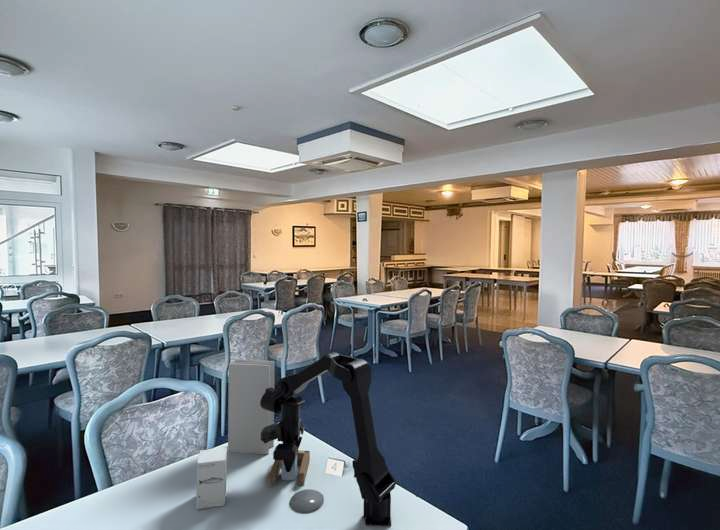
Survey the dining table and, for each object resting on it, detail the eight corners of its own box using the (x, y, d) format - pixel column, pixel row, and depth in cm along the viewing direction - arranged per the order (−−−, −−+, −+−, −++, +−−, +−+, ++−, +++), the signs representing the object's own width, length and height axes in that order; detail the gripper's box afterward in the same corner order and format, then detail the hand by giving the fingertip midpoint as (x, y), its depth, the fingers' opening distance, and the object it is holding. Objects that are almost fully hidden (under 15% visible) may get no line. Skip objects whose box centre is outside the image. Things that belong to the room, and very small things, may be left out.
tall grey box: (273, 446, 137) (274, 361, 136) (268, 454, 131) (269, 365, 130) (234, 443, 138) (235, 359, 137) (228, 451, 132) (228, 363, 132)
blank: (297, 472, 121) (297, 446, 120) (294, 479, 117) (295, 453, 116) (284, 472, 121) (284, 446, 120) (281, 479, 117) (281, 453, 116)
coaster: (325, 491, 111) (325, 489, 111) (322, 512, 102) (322, 510, 102) (293, 491, 111) (293, 489, 111) (287, 512, 102) (287, 509, 102)
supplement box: (195, 510, 102) (195, 463, 102) (199, 493, 109) (199, 449, 109) (225, 506, 104) (225, 459, 104) (227, 490, 111) (227, 446, 111)
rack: (309, 461, 127) (309, 450, 127) (303, 485, 114) (304, 473, 114) (278, 460, 127) (278, 450, 127) (269, 484, 114) (269, 472, 114)
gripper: (270, 404, 127) (270, 451, 128) (255, 430, 109) (254, 485, 109) (304, 405, 127) (304, 452, 128) (295, 431, 109) (294, 486, 109)
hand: (289, 467), depth 118 cm, fingers closed on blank, 4 cm apart
